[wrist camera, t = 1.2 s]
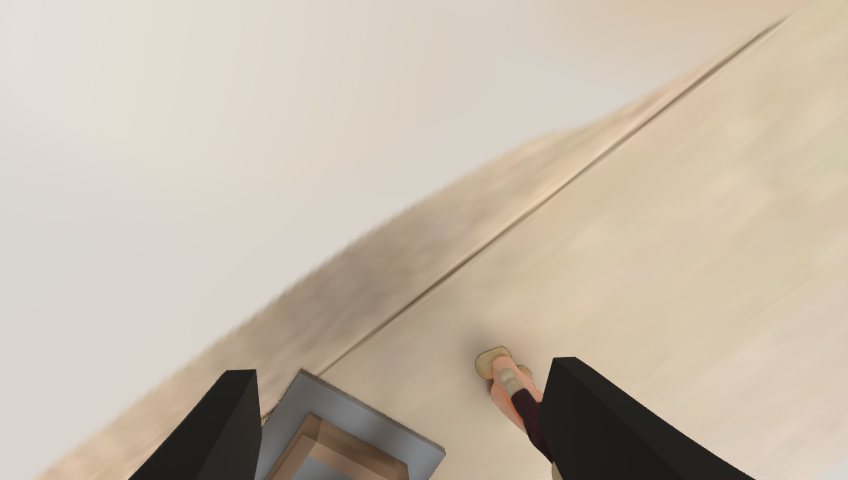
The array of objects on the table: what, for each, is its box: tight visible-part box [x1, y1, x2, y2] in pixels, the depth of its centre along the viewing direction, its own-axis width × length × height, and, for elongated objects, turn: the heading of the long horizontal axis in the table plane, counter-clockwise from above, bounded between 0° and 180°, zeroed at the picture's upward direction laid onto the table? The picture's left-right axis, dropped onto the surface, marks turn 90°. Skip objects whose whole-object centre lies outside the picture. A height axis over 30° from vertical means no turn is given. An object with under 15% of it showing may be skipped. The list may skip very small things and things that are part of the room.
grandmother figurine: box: [475, 347, 563, 480], centre depth 23 cm, size 8×4×13 cm, turn 54°
